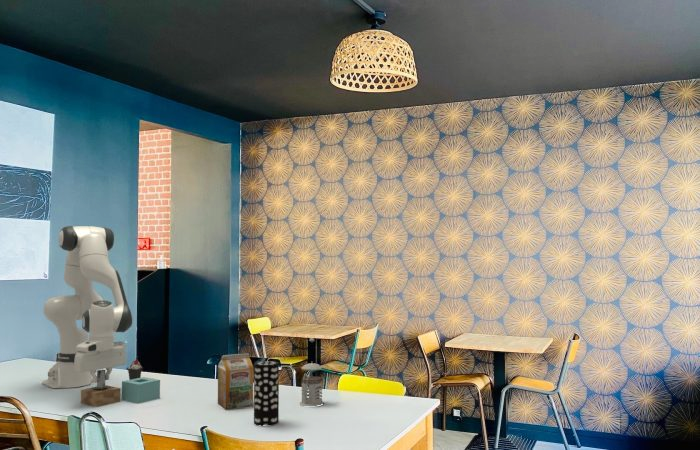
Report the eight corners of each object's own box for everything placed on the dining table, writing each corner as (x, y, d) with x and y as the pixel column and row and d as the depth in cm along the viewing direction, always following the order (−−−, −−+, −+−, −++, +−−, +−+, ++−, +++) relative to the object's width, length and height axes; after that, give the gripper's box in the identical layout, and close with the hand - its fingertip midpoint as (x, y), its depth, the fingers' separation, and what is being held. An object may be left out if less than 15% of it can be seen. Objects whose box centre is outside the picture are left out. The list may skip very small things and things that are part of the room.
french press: (328, 401, 235) (328, 336, 236) (317, 409, 224) (317, 340, 225) (305, 399, 238) (305, 335, 239) (292, 407, 227) (292, 339, 228)
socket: (80, 405, 229) (81, 389, 230) (104, 400, 237) (105, 384, 238) (96, 409, 224) (96, 393, 224) (120, 404, 232) (120, 388, 232)
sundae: (137, 394, 247) (138, 357, 248) (122, 394, 248) (123, 356, 249) (146, 391, 253) (146, 354, 254) (131, 390, 255) (132, 354, 255)
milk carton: (225, 410, 223) (225, 357, 224) (217, 403, 233) (218, 353, 233) (253, 406, 228) (253, 355, 229) (244, 400, 237) (244, 351, 238)
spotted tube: (254, 419, 210) (255, 361, 211) (278, 418, 211) (279, 360, 212) (252, 426, 202) (253, 365, 203) (278, 425, 203) (278, 365, 203)
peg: (94, 402, 230) (95, 370, 231) (102, 400, 233) (102, 369, 233) (99, 403, 228) (99, 371, 229) (106, 402, 231) (107, 370, 231)
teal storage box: (121, 402, 235) (122, 381, 235) (143, 397, 243) (144, 377, 243) (137, 406, 229) (138, 384, 229) (159, 400, 237) (160, 379, 237)
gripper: (120, 340, 242) (120, 375, 241) (72, 346, 225) (71, 384, 224) (130, 341, 238) (129, 377, 238) (81, 348, 221) (80, 386, 221)
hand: (101, 380), depth 231 cm, fingers closed on peg, 3 cm apart
